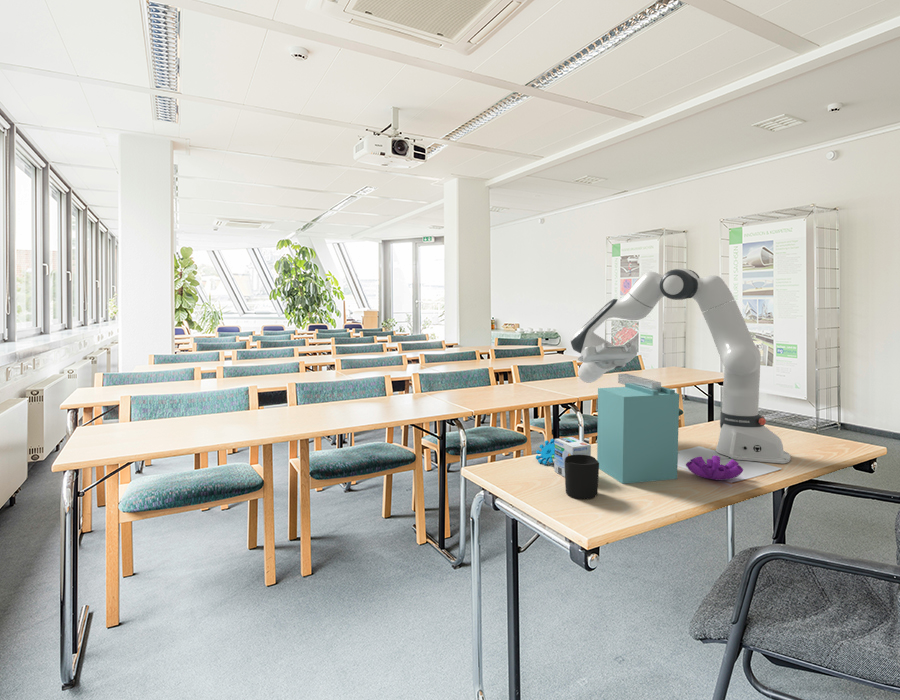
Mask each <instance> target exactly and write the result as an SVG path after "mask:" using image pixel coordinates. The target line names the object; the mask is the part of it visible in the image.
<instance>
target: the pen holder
mask: <svg viewBox="0 0 900 700" xmlns="http://www.w3.org/2000/svg"><path fill="white" fill-rule="evenodd" d="M564 463H565V477H564V483H565V493H566V495H567V496H569V497H570V498H573V499H578V500H591V499H592V500H593V499H595V498H596V497H597V496H598V490H599V476H600V475H599V473H600V471H599V470H600V469H599V462H598V461H597V458H595V457H594V456H589V455H569V456H567V457H566V458H565V461H564Z"/></svg>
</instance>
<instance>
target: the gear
mask: <svg viewBox="0 0 900 700" xmlns="http://www.w3.org/2000/svg"><path fill="white" fill-rule="evenodd" d="M538 447H539V449H541V451H540V450H539V449H537V450H536V451H535V453H536V454H537V455H535V459H536V460H537V462H538V463H539V464H540V463H541V464H543V465H545V466H546V465H547V464H548V463H550V464H554V460H555V438H551V439H550V440H548V439H547V440H545V441H544V445H543V444H540V445H539V446H538ZM547 466H548V465H547Z"/></svg>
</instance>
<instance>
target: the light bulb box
mask: <svg viewBox="0 0 900 700" xmlns="http://www.w3.org/2000/svg"><path fill="white" fill-rule="evenodd" d="M554 440H555V460H554V459H553V464H554V465H553V469H554V470H553V471H554V472H555V473H557V474H558V475H559V476H562V477H564V478H565V463H564V461H565V458H566V457H567V456H569V455H589V456H591V454H592V449H591V448H592V447H591V446H592V445H591V444H589V443H587V442H585V441H583V440H580V439H578V438H575V437H573V436H569V437H562V438H561V437H560V438H559V437H558V438H554Z"/></svg>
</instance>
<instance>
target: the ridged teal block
mask: <svg viewBox="0 0 900 700" xmlns="http://www.w3.org/2000/svg"><path fill="white" fill-rule="evenodd" d="M679 412H680V393H678V392H676V390H675V389H673V388H668V387H665V386H661V392H658V391H657V390H653V389H649V388H646V387H642V386H639V385H635V384H632V383H625V385H624V386H618V387H617V386H616V387H598V388H597V440H596V441H597V448H596V449H597V450H596V451H597V452H596V453H597V454H596V455H597V456H596V457H597V458H596V460H597V461H598V462H599V470H601V471H602V472H604V473H605V474H607V475H608V476H610V477H612V478H613V479H615V480H616V481H618V482H619V483H620V484H622V485H623V484H625V485H626V484H635V483H636V484H637V483H647V482H657V481H658V482H659V481H667V480H668V481H669V480H677V479H678V463H679V462H678V459H679V424H680V423H679V418H680V413H679Z"/></svg>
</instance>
